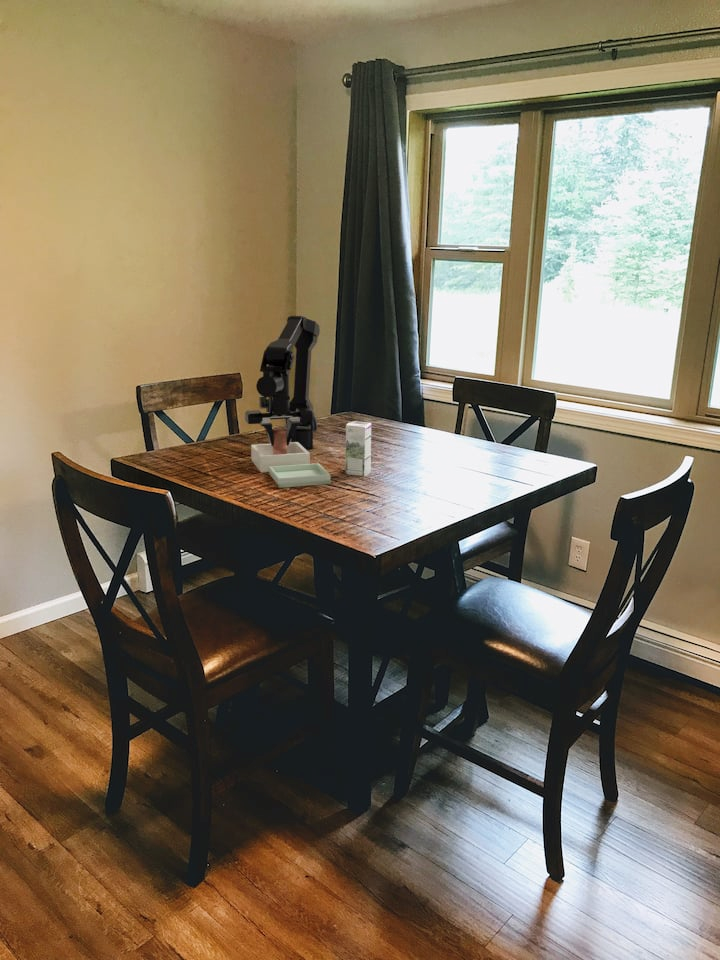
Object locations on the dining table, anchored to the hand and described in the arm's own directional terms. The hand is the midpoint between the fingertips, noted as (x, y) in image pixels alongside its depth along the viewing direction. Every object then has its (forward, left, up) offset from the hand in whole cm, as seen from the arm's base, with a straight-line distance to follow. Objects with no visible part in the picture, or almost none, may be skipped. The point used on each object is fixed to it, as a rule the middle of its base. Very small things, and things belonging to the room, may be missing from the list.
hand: (279, 445), depth 217 cm
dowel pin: (0, 0, -6) cm, 6 cm away
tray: (-2, +15, -6) cm, 16 cm away
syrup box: (-19, +14, -6) cm, 24 cm away
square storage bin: (0, 0, -6) cm, 6 cm away
